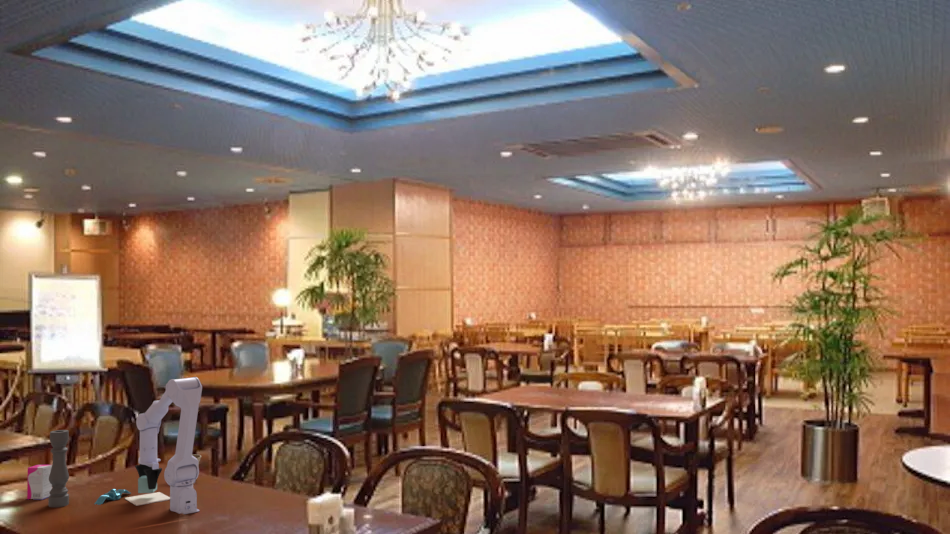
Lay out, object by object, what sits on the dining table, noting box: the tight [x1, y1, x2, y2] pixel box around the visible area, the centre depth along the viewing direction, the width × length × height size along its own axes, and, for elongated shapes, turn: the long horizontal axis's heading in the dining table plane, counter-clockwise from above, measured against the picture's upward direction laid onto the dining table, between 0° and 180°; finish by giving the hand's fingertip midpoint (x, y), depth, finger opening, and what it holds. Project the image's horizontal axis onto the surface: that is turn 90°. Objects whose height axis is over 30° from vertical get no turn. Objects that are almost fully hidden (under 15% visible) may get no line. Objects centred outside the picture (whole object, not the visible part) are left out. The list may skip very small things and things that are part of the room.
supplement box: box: [26, 464, 52, 501], centre depth 279 cm, size 6×6×12 cm
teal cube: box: [137, 475, 158, 494], centre depth 277 cm, size 5×5×5 cm
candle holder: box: [47, 429, 70, 508], centre depth 270 cm, size 6×6×25 cm
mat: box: [124, 491, 170, 507], centre depth 277 cm, size 12×12×1 cm
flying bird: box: [93, 488, 132, 506], centre depth 278 cm, size 15×7×4 cm, turn 163°
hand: (148, 486), depth 278 cm, fingers closed on teal cube, 7 cm apart
